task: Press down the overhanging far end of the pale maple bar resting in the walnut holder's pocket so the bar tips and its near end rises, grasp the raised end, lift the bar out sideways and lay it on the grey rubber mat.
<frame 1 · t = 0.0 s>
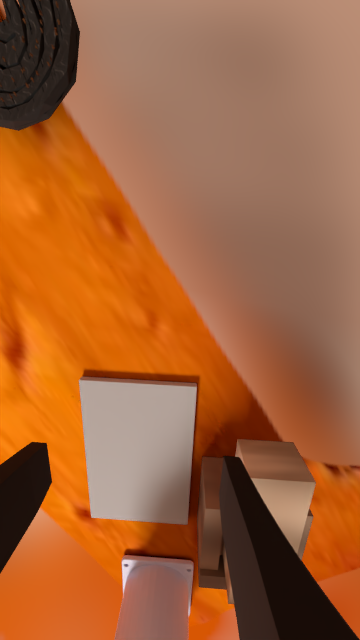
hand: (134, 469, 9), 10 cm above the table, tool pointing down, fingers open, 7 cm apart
bar: (254, 502, 18), point 4 cm above the table, touching holder
holder: (244, 459, 21), on the table
mat: (139, 453, 21), on the table
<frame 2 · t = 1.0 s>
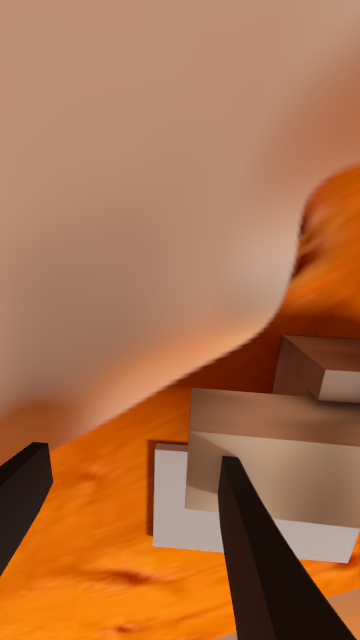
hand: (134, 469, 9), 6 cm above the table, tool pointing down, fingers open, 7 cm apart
bar: (305, 431, 12), point 4 cm above the table, touching gripper, holder
holder: (272, 390, 15), on the table
mat: (255, 501, 18), on the table
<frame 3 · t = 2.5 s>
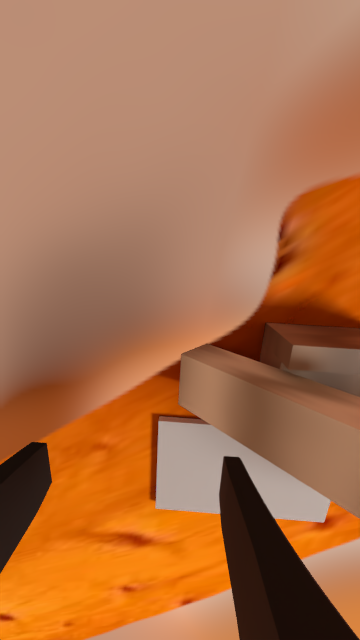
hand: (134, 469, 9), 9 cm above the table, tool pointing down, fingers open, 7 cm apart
bar: (281, 400, 14), point 4 cm above the table, tilted 40°, touching holder
holder: (258, 370, 18), on the table
mat: (244, 468, 21), on the table
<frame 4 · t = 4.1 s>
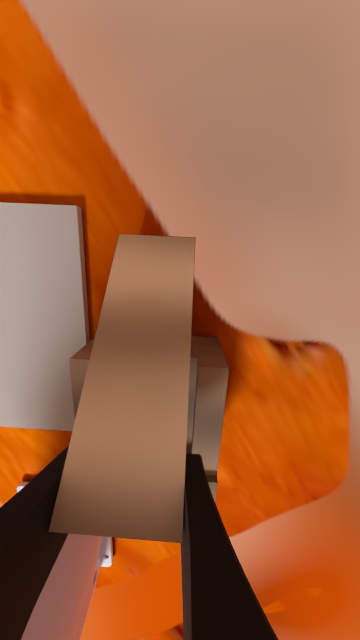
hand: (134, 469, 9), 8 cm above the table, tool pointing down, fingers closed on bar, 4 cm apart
bar: (150, 362, 12), point 4 cm above the table, tilted 40°, touching gripper, holder
holder: (160, 333, 15), on the table
mat: (20, 328, 16), on the table
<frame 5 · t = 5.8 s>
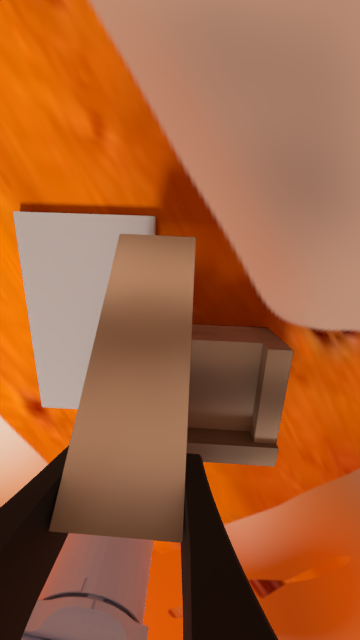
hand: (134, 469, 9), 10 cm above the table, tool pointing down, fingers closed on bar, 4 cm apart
bar: (150, 362, 12), point 6 cm above the table, tilted 40°, touching gripper
holder: (217, 325, 18), on the table
mat: (94, 321, 18), on the table
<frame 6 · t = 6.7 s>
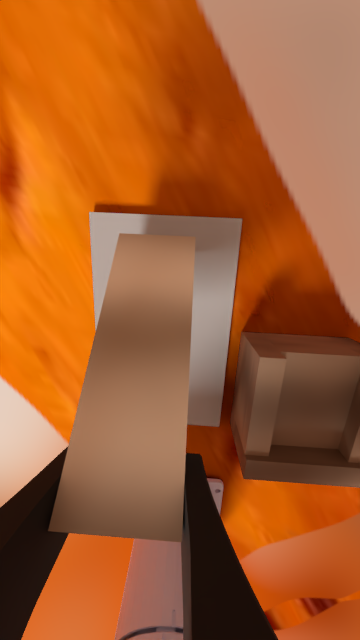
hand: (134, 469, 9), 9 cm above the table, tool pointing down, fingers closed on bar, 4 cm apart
bar: (150, 362, 12), point 6 cm above the table, tilted 40°, touching gripper
holder: (294, 334, 17), on the table
mat: (162, 329, 17), on the table
when the fingers open (9 cm above the table, at t = 7.2 s): bar drops 4 cm, resting on mat.
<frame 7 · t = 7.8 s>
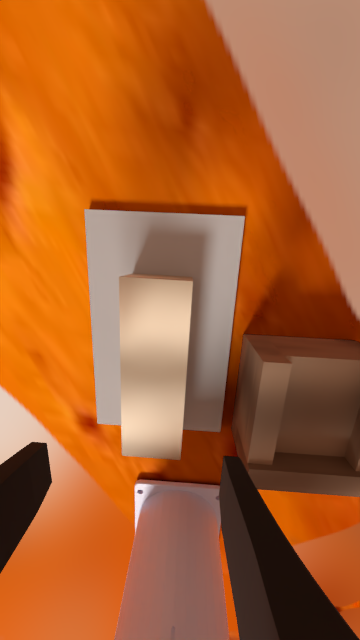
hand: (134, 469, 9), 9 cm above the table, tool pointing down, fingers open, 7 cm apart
bar: (159, 357, 16), point 1 cm above the table, touching mat
holder: (298, 337, 16), on the table
mat: (161, 331, 17), on the table
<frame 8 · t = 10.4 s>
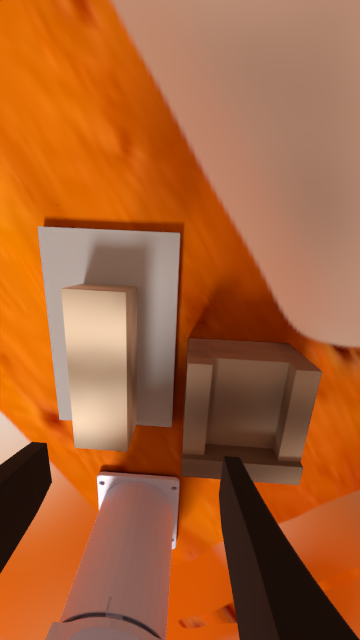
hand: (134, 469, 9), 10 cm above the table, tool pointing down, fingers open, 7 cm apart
bar: (112, 359, 18), point 1 cm above the table, touching mat
holder: (238, 340, 18), on the table
mat: (114, 335, 18), on the table
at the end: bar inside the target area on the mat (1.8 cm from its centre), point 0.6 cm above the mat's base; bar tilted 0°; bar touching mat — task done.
